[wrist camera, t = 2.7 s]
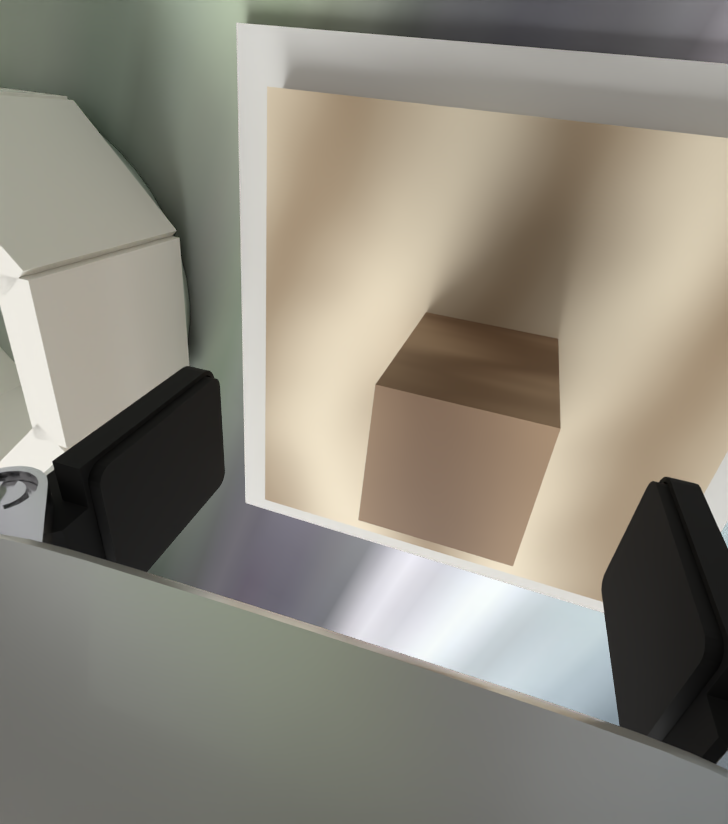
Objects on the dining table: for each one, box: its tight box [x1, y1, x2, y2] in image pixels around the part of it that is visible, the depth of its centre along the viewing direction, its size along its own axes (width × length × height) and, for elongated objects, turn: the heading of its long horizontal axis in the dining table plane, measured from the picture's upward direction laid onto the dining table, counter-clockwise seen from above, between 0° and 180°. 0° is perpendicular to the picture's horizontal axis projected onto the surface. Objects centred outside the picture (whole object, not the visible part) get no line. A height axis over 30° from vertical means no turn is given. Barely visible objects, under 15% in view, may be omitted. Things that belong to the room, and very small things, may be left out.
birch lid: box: [265, 87, 728, 602], centre depth 15 cm, size 15×15×6 cm
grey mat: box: [236, 23, 728, 613], centre depth 18 cm, size 18×18×1 cm
